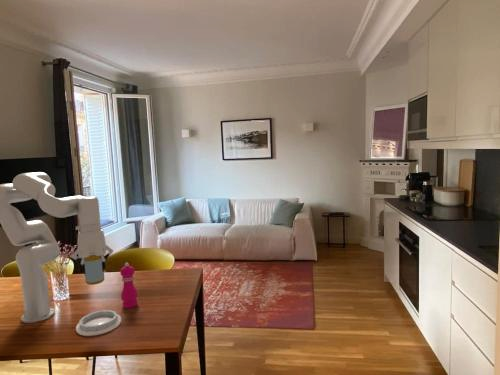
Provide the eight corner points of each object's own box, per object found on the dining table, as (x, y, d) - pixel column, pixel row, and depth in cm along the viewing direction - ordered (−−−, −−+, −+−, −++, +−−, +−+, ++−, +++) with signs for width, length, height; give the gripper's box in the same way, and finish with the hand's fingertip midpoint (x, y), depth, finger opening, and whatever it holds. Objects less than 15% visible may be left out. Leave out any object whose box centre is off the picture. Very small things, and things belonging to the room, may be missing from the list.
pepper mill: (133, 309, 158) (129, 265, 155) (118, 308, 159) (115, 265, 157) (141, 302, 165) (138, 260, 163) (127, 301, 166) (123, 260, 164)
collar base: (66, 330, 141) (66, 323, 140) (102, 312, 155) (102, 305, 155) (95, 339, 132) (94, 332, 132) (130, 320, 147) (129, 313, 147)
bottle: (99, 277, 147) (96, 242, 145) (107, 281, 142) (104, 244, 141) (82, 282, 141) (79, 246, 140) (90, 286, 137) (87, 249, 135)
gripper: (64, 232, 133) (69, 278, 135) (113, 227, 139) (117, 271, 141) (67, 228, 140) (71, 272, 142) (113, 223, 146) (117, 266, 148)
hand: (94, 271), depth 142 cm, fingers closed on bottle, 5 cm apart
